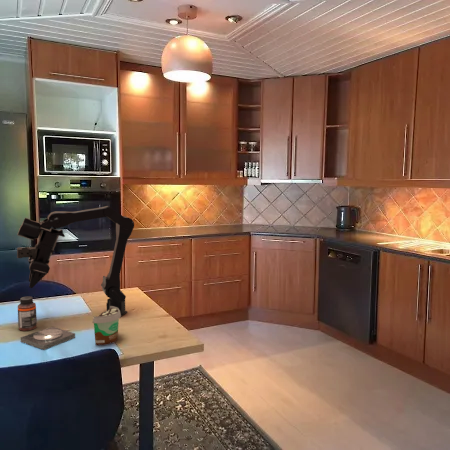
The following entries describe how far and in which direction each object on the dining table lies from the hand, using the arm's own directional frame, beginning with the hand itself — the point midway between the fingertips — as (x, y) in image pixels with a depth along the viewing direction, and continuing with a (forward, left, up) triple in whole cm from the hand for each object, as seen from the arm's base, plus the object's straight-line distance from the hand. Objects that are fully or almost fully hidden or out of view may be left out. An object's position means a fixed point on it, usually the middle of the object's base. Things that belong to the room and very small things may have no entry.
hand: (30, 284), depth 148 cm
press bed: (-15, +10, -15) cm, 23 cm away
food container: (-35, +4, -16) cm, 38 cm away
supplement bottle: (-1, +3, -16) cm, 16 cm away
